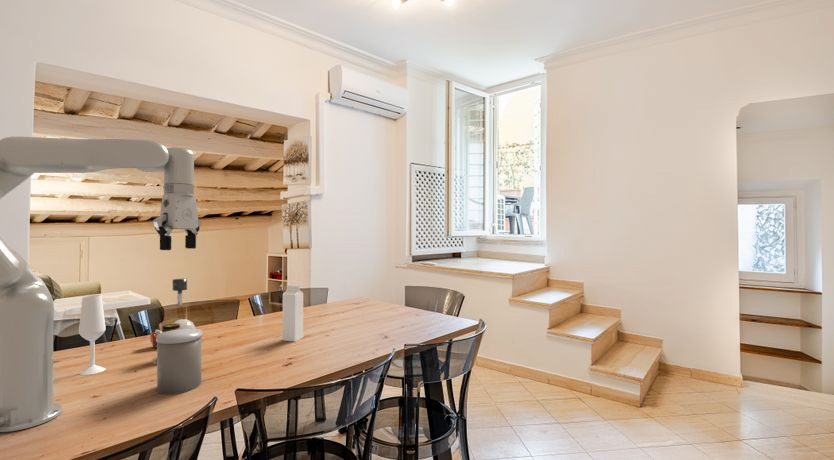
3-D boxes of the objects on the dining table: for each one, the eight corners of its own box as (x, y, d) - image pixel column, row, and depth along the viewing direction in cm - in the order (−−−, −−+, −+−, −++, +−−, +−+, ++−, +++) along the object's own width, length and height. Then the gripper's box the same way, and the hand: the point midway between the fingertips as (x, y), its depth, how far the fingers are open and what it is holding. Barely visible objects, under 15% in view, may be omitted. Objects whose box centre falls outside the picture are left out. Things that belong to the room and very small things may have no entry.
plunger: (180, 306, 114) (180, 280, 113) (169, 306, 114) (169, 280, 114) (189, 304, 117) (189, 278, 117) (178, 303, 118) (178, 278, 118)
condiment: (182, 360, 138) (182, 325, 138) (153, 364, 133) (153, 329, 133) (181, 354, 144) (181, 321, 144) (153, 358, 139) (153, 324, 139)
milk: (290, 336, 168) (291, 284, 168) (303, 337, 167) (303, 285, 167) (282, 340, 163) (282, 286, 163) (295, 341, 161) (295, 287, 161)
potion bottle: (198, 344, 162) (156, 357, 151) (189, 327, 167) (148, 338, 156) (201, 328, 157) (157, 340, 146) (192, 311, 162) (149, 322, 151)
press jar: (183, 395, 109) (183, 340, 109) (145, 392, 111) (145, 338, 111) (213, 378, 122) (213, 328, 122) (179, 375, 124) (179, 326, 123)
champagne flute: (102, 365, 132) (102, 293, 132) (108, 370, 128) (108, 295, 127) (76, 371, 127) (76, 296, 127) (81, 376, 122) (81, 298, 122)
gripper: (167, 187, 108) (166, 251, 108) (210, 193, 125) (210, 248, 125) (143, 188, 109) (142, 250, 109) (189, 193, 126) (188, 247, 126)
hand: (178, 249), depth 117 cm, fingers open, 9 cm apart
